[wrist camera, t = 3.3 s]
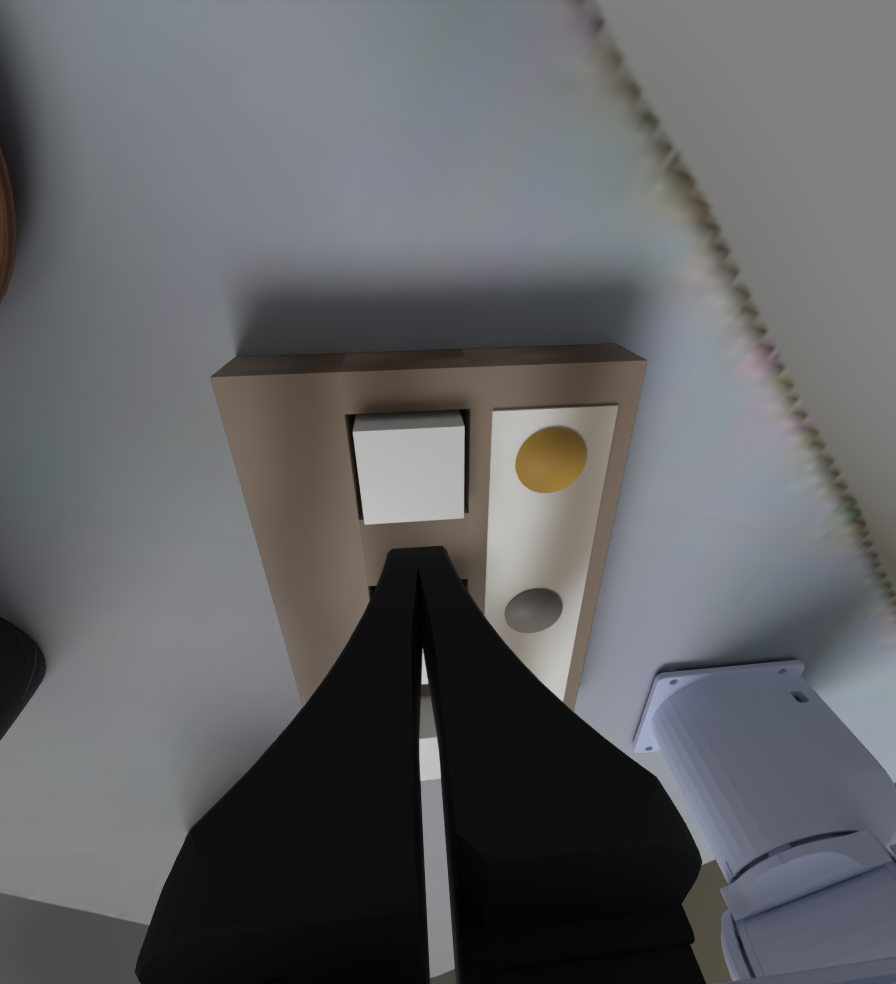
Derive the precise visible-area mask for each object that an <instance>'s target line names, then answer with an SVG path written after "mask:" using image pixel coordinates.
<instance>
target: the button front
mask: <svg viewBox="0 0 896 984" xmlns="http://www.w3.org/2000/svg"><path fill="white" fill-rule="evenodd" d="M464 434H465V426H464V423H463V420H462V417H461V414H460V411H459V409H454V410H432V411H410V412H388V413H366V414H356V419H355V423H354V428H353V438H354V446H355V454H356V462H357V469H358V477H359V485H360V493H361V501H362V508H363V516H364V524H365V525H368V524H383V523H399V522H414V521H430V520H445V519H461V518H464Z"/></svg>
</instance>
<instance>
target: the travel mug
mask: <svg viewBox="0 0 896 984" xmlns="http://www.w3.org/2000/svg"><path fill="white" fill-rule="evenodd" d="M44 674H45V661H44V658H43V656H42V654H41V652H40V650H39V649H38V647H37V646H36V645H35V643H34V642H33V641H32V640H31V639H30V638H29V637H28V636H27V635H25V634H24V633H23V632H22V631H20V630H19V629H18V628H16V627H14V626H13V625H11V624H10V623H8V622H6V621H4V620H2V619H1V618H0V740H1V739H2V738H3V736H4V735H5V734H6V732H7V731H8V729H9V728H10V727H11V725H12V724H13V723H14V721H15V720H16V718H17V717H18V716H19V714H20V713H21V711H22V710H23V709H24V707H25V706H26V704H27V703H28V702H29V700H30V699H31V697H32V696H33V694H34V693H35V691H36V690H37V688H38V687H39V685H40V684H41V682H42V680H43V677H44Z"/></svg>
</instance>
